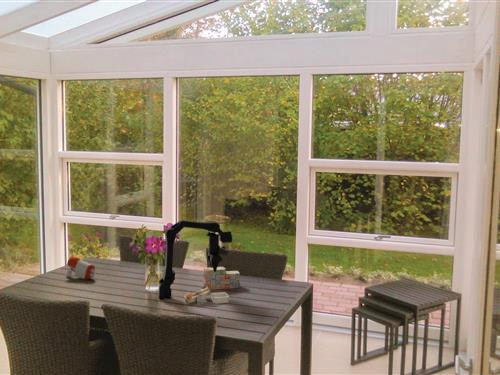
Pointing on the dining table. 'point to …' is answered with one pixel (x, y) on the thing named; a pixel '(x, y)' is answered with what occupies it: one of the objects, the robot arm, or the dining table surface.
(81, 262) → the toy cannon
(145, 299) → the dining table surface
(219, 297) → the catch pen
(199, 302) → the fulcrum
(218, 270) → the stack of blocks
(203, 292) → the lever
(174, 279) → the robot arm
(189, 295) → the ball
